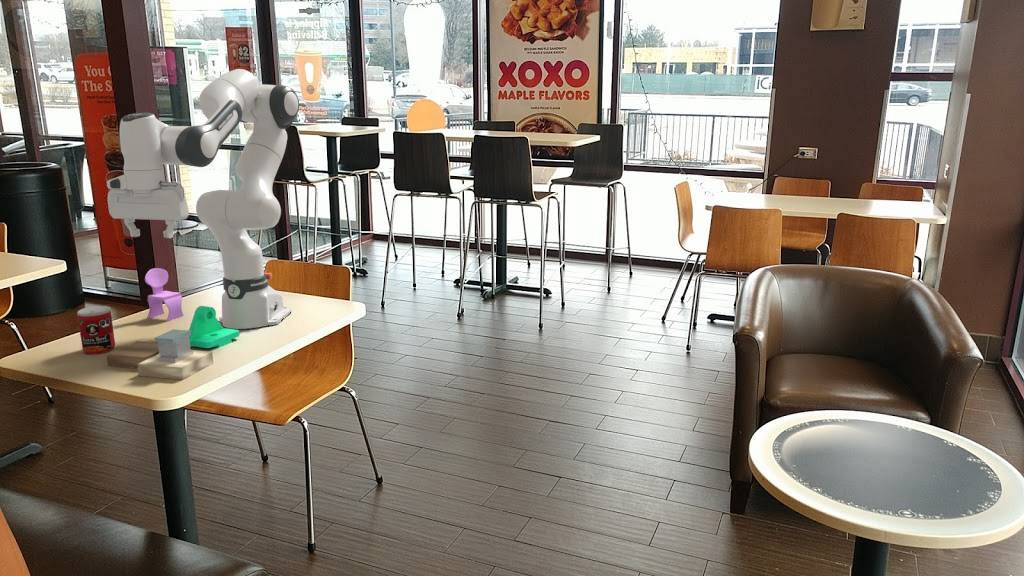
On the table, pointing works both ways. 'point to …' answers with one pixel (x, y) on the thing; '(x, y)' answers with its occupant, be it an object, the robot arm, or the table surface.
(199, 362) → the stand
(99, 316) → the canned food
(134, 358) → the stand
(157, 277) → the toy chair
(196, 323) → the camera mount
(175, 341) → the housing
